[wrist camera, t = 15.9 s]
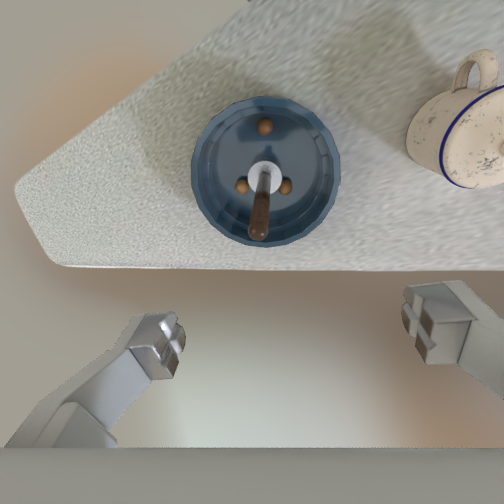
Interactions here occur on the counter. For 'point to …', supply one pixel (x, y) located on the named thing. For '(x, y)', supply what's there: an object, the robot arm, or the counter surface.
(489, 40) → the counter surface
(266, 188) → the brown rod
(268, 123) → the bead
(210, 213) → the bowl
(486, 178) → the teacup with lid
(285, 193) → the bead
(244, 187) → the bead
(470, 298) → the robot arm
